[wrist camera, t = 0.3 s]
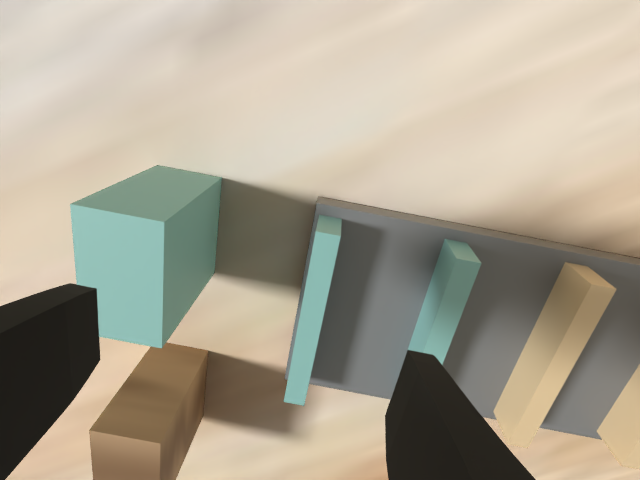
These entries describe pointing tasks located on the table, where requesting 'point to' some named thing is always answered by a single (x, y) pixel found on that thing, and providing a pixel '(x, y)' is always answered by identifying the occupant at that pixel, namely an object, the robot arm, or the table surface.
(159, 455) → the walnut plug
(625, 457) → the slot comb
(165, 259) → the teal plug
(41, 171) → the table surface
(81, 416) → the table surface
